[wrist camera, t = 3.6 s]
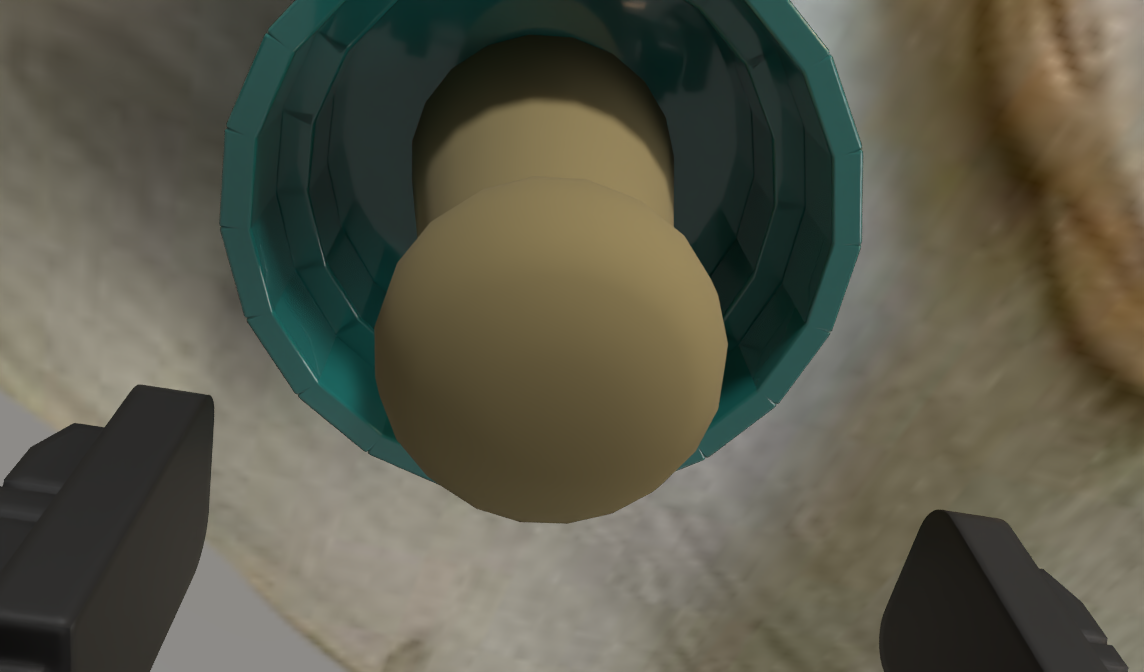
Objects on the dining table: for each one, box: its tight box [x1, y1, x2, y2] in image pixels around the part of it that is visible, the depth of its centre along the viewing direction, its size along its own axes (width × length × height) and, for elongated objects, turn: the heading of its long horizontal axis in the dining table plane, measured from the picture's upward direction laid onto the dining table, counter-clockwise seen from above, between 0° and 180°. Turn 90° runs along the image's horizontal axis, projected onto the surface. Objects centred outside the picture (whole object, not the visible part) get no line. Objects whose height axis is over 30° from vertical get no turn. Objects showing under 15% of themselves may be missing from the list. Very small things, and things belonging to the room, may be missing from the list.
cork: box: [374, 35, 728, 524], centre depth 19 cm, size 6×6×11 cm
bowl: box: [219, 0, 863, 484], centre depth 22 cm, size 12×12×5 cm
